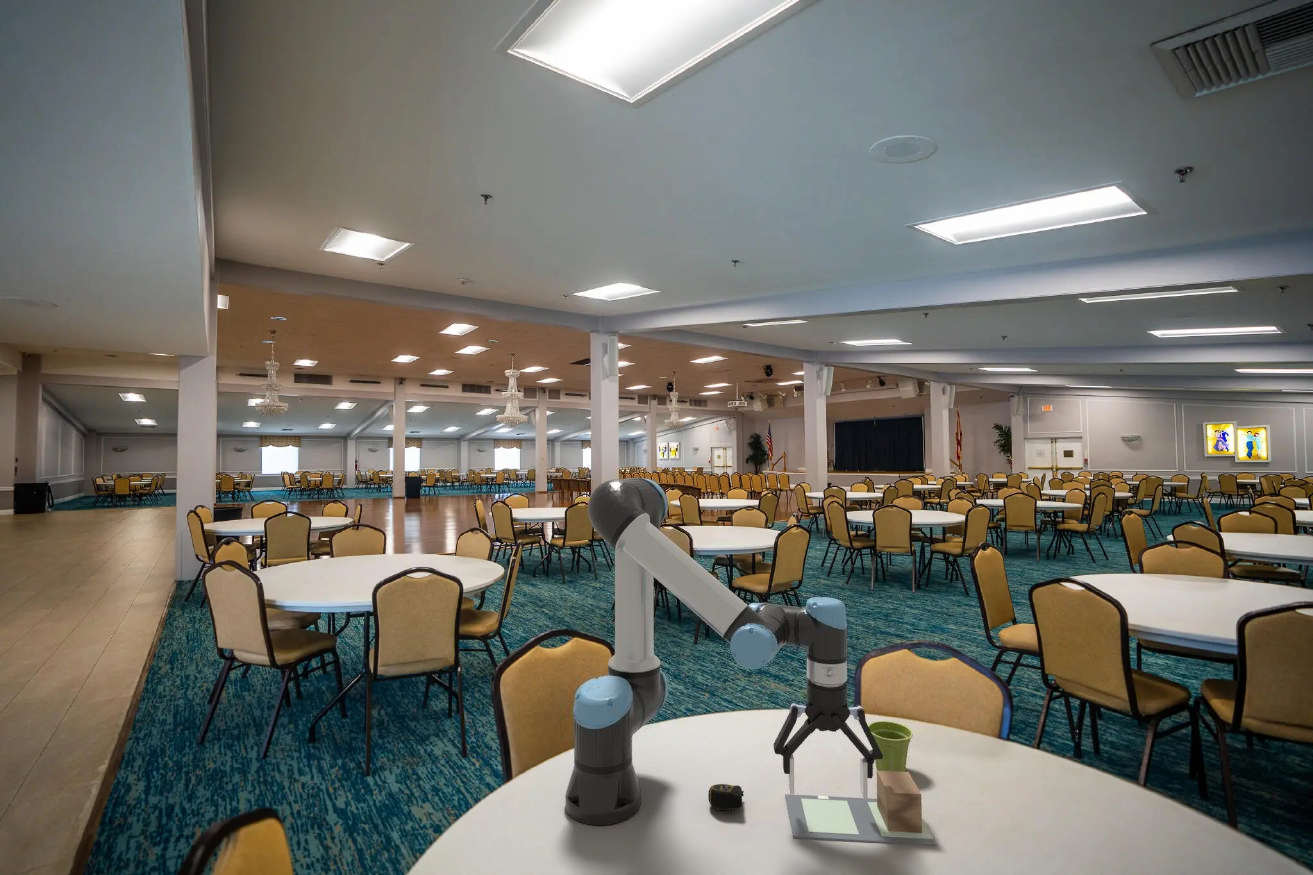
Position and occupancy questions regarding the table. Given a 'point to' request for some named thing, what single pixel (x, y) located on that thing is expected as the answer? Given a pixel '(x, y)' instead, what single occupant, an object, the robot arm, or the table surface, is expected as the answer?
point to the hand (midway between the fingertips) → (827, 792)
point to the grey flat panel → (845, 821)
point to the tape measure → (725, 796)
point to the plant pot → (891, 744)
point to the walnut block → (899, 801)
